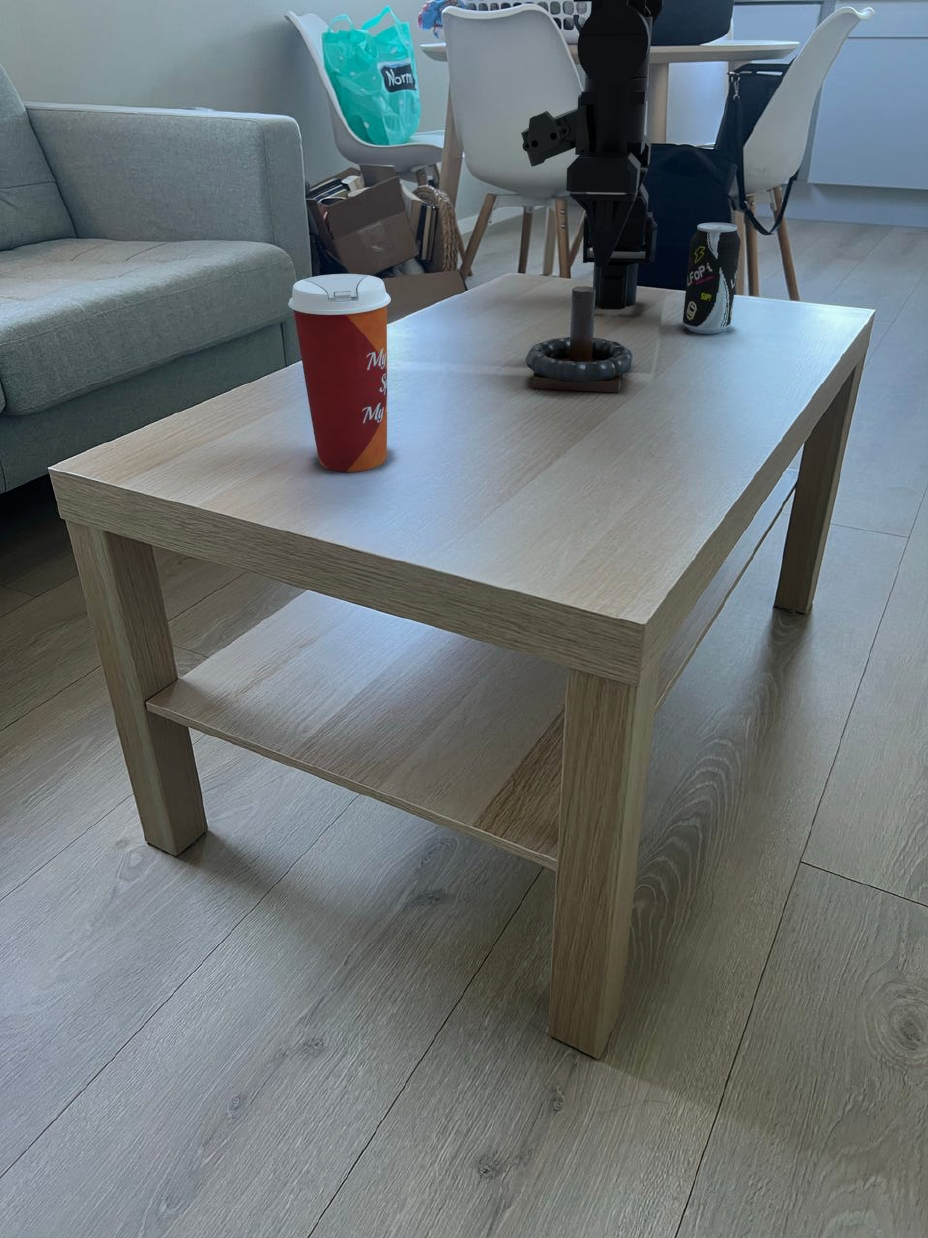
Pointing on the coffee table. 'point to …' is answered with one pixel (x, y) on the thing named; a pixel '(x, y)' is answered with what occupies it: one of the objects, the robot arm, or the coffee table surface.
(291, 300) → the coffee cup
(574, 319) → the peg stand
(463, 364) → the coffee table surface
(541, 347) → the ring
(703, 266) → the beverage can
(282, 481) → the coffee table surface
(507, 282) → the coffee table surface
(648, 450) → the coffee table surface
